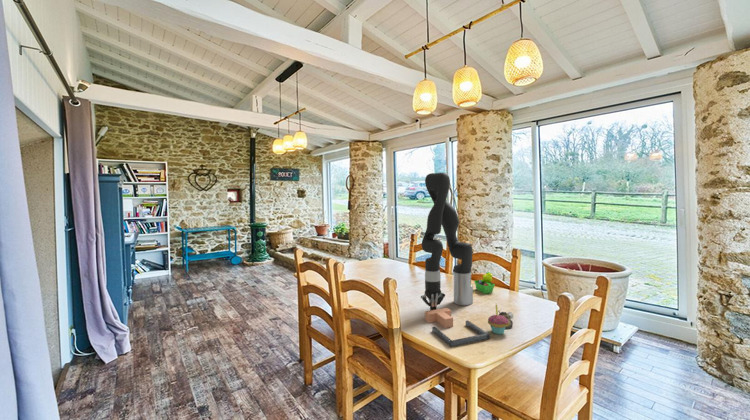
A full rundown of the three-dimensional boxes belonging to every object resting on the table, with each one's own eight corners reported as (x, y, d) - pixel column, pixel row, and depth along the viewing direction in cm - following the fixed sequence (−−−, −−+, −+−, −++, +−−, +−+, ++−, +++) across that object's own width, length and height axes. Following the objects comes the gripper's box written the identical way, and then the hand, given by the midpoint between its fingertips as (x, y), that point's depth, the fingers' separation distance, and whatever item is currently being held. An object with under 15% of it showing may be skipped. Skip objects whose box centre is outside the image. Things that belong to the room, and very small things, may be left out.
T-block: (446, 315, 159) (446, 307, 159) (460, 325, 147) (460, 316, 147) (425, 319, 155) (424, 311, 155) (437, 329, 144) (437, 320, 143)
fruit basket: (473, 288, 199) (473, 270, 198) (486, 287, 201) (486, 269, 200) (484, 294, 188) (483, 275, 187) (497, 293, 190) (497, 274, 189)
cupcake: (484, 328, 143) (484, 301, 143) (502, 326, 144) (502, 300, 143) (493, 336, 135) (493, 309, 134) (512, 335, 136) (512, 307, 135)
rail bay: (468, 324, 147) (467, 320, 147) (489, 339, 133) (489, 334, 133) (432, 331, 142) (432, 326, 142) (451, 347, 127) (450, 342, 127)
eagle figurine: (493, 317, 152) (493, 321, 144) (502, 305, 151) (502, 308, 143) (508, 328, 149) (508, 333, 141) (517, 316, 148) (518, 320, 140)
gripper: (440, 275, 164) (441, 308, 165) (417, 278, 160) (417, 312, 161) (448, 279, 157) (448, 314, 158) (424, 282, 153) (424, 318, 154)
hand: (433, 313), depth 159 cm, fingers closed
